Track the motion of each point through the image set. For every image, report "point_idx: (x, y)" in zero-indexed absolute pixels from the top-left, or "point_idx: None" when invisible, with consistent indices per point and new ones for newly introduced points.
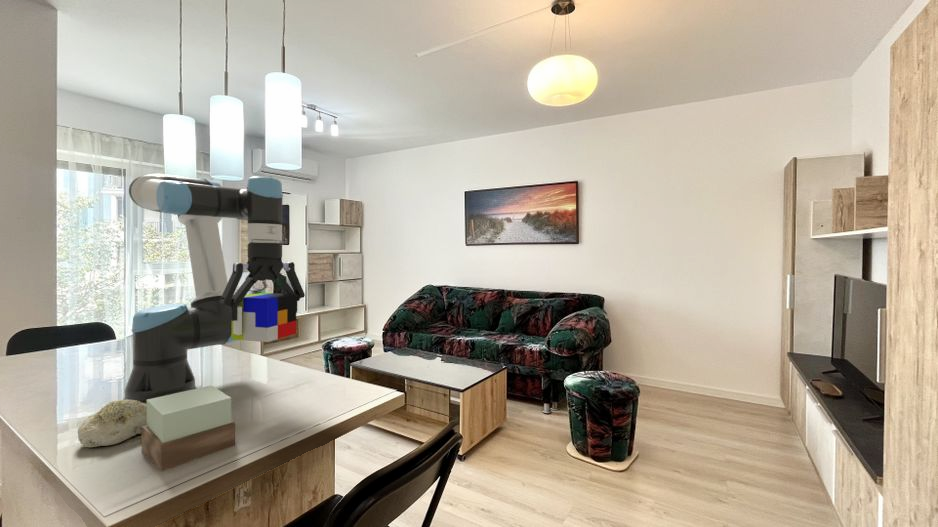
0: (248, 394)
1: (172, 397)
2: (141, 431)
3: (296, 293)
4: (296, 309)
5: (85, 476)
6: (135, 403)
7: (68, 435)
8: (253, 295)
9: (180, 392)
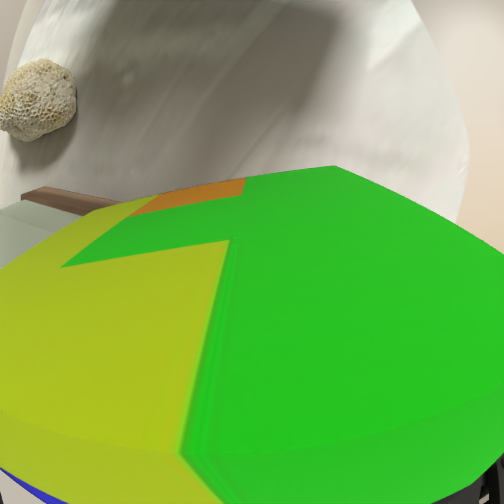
0: (290, 89)
1: (16, 242)
2: (26, 193)
3: (491, 484)
4: None
5: (5, 205)
6: (25, 110)
7: (33, 41)
8: (82, 500)
9: (28, 225)
